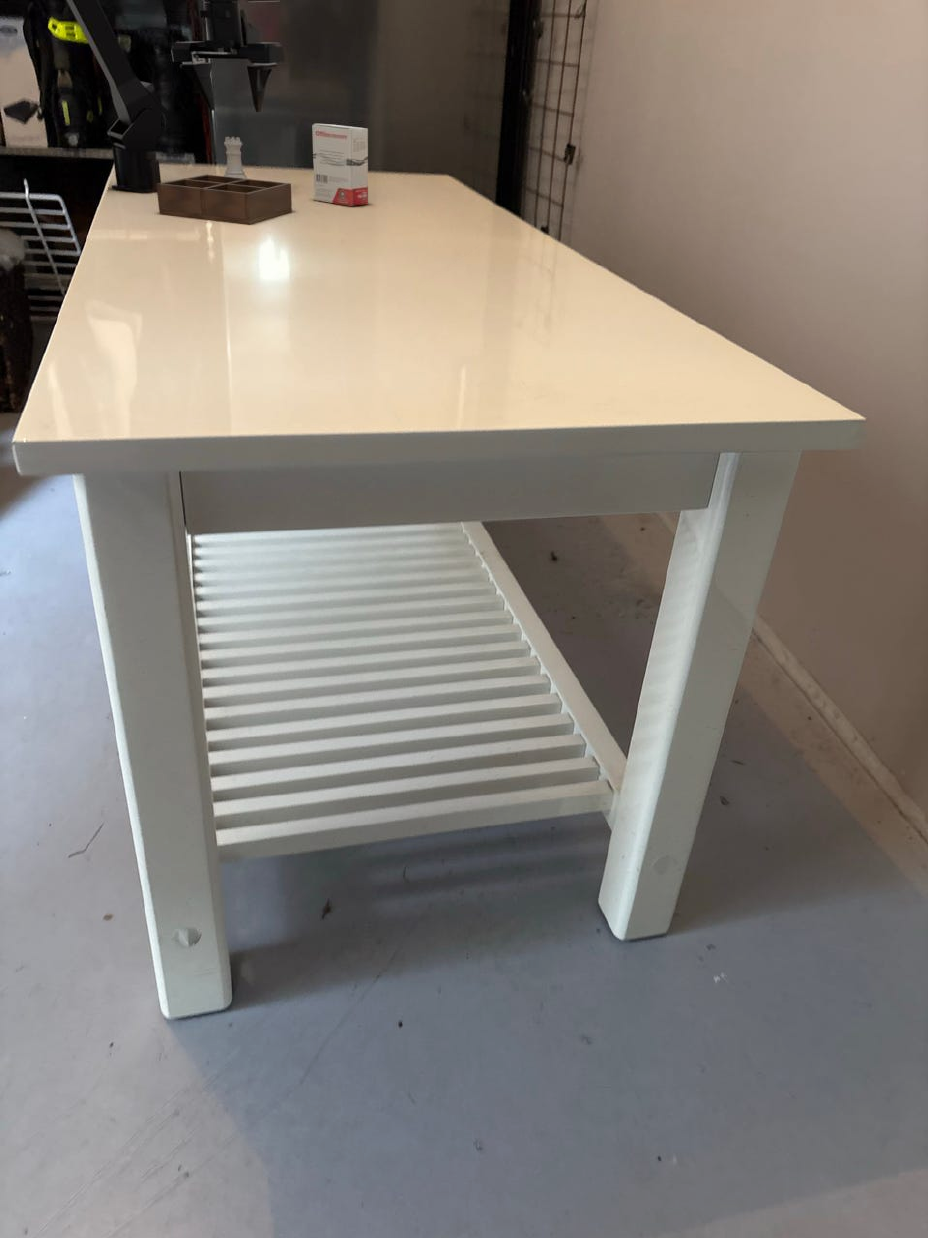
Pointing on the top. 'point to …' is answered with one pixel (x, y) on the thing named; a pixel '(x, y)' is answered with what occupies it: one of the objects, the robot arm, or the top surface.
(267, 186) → the organizer
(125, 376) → the top surface
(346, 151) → the ink box
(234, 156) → the rook chess piece
